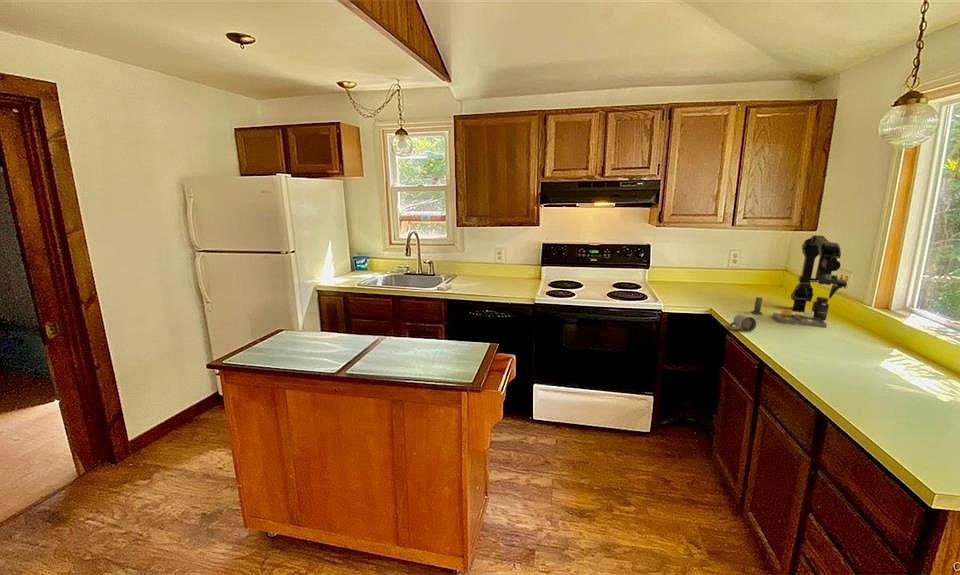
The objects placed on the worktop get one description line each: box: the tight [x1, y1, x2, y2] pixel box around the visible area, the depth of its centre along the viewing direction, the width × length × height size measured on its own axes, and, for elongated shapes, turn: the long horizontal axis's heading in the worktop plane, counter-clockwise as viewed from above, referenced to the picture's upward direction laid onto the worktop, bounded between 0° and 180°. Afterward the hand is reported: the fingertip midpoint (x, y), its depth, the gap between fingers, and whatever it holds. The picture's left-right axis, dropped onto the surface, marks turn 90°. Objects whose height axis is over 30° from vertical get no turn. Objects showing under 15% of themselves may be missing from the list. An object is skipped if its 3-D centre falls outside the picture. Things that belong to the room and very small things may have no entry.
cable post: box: [750, 296, 764, 316], centre depth 236 cm, size 5×5×9 cm
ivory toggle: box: [803, 310, 814, 318], centre depth 223 cm, size 2×4×3 cm, turn 71°
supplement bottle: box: [811, 296, 830, 322], centre depth 227 cm, size 7×7×12 cm
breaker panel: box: [772, 312, 827, 328], centre depth 223 cm, size 12×20×3 cm, turn 71°
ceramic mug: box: [727, 313, 758, 333], centre depth 209 cm, size 11×8×8 cm
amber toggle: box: [781, 308, 793, 316], centre depth 227 cm, size 2×4×3 cm, turn 71°
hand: (818, 297), depth 218 cm, fingers open, 9 cm apart
